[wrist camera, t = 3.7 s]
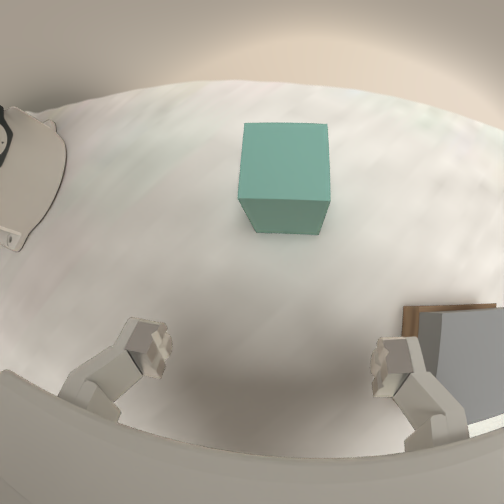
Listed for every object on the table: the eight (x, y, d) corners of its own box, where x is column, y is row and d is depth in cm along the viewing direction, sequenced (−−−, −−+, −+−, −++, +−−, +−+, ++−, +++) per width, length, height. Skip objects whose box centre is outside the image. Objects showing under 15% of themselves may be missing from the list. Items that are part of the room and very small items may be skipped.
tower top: (406, 417, 16) (424, 434, 13) (419, 312, 17) (442, 313, 14) (484, 401, 15) (507, 412, 11) (496, 307, 16) (522, 306, 13)
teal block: (256, 232, 23) (237, 198, 15) (259, 175, 24) (244, 123, 16) (318, 235, 23) (330, 201, 15) (318, 177, 23) (327, 124, 16)
